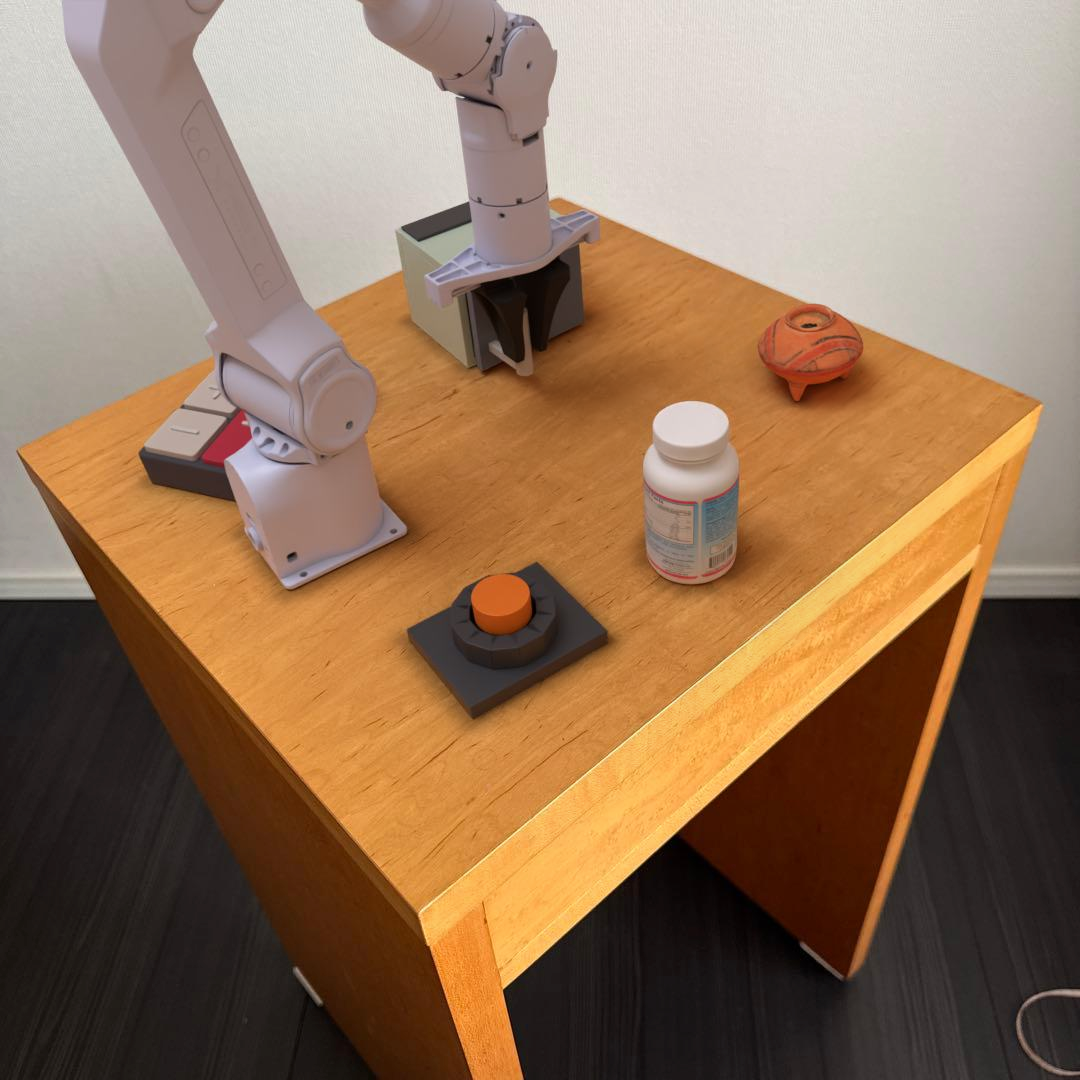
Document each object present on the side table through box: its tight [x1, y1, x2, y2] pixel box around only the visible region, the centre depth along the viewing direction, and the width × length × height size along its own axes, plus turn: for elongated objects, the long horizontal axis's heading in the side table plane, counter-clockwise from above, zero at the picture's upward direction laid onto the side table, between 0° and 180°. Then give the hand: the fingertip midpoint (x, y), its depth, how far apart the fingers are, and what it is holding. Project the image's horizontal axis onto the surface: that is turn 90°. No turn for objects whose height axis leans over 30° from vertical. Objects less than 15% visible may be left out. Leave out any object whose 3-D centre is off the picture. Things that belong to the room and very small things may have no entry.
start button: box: [471, 573, 532, 635], centre depth 69 cm, size 4×4×2 cm
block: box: [406, 561, 609, 720], centre depth 70 cm, size 10×8×3 cm
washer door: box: [467, 244, 585, 377], centre depth 92 cm, size 11×6×8 cm, turn 127°
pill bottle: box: [642, 400, 740, 585], centre depth 72 cm, size 6×6×11 cm
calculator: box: [138, 368, 252, 502], centre depth 89 cm, size 11×4×15 cm
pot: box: [757, 303, 864, 402], centre depth 87 cm, size 8×8×7 cm
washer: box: [394, 201, 563, 369], centre depth 97 cm, size 12×10×9 cm
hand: (525, 351), depth 89 cm, fingers closed, pressing on washer door
